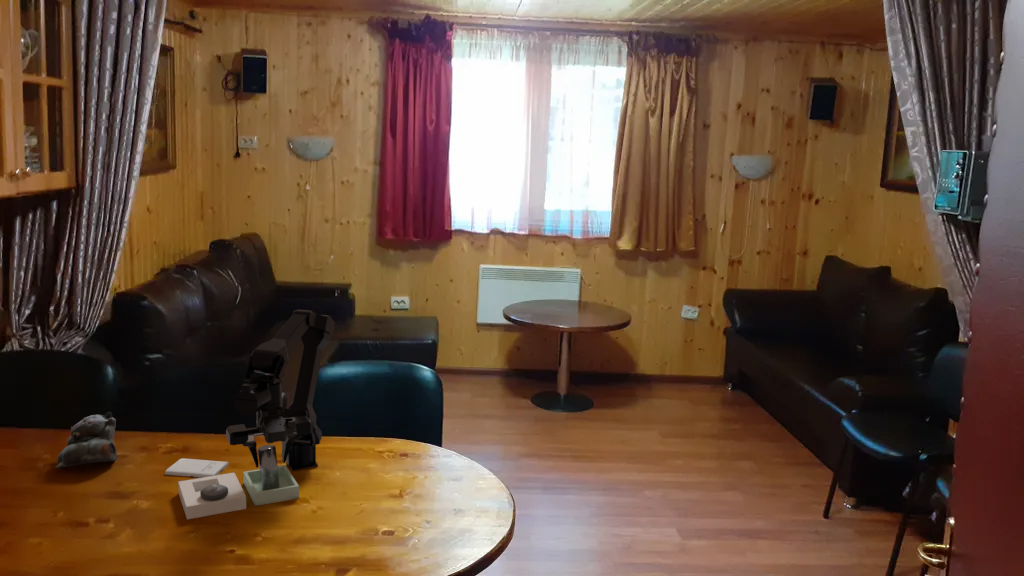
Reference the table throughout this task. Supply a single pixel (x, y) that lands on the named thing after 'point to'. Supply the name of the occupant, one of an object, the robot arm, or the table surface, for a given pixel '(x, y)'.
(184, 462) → the external hard drive
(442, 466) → the table surface
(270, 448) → the pin
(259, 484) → the tray
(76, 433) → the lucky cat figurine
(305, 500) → the table surface
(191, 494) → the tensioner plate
